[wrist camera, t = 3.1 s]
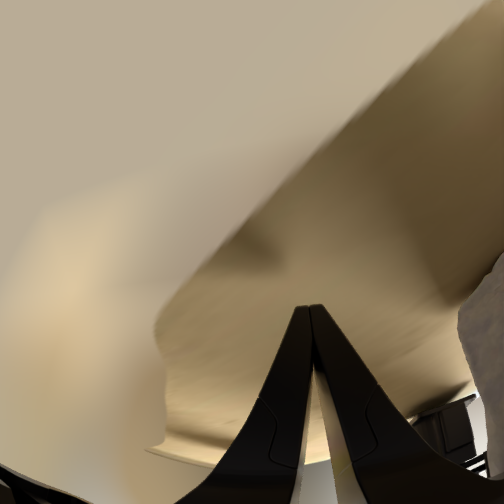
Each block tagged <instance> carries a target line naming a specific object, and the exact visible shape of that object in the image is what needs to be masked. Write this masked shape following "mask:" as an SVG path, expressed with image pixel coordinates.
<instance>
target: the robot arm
mask: <svg viewBox="0 0 504 504" xmlns="http://www.w3.org/2000/svg"><path fill="white" fill-rule="evenodd" d="M313 367H314V374H315V379H316V384H317V388H318V393H319V398H320V403H321V408H322V414H323V419H324V424H325V429H326V435H327V440H328V446H329V451H330V457H331V463H332V468H333V474H334V479H335V487H336V494H337V500H338V504H504V472H503V473H500V474H498V475H495V476H493V477H491V476H490V469H489V466H488V458H487V451H485V452H483V454H481V455H479V456H478V457H476V458H474V457H475V456H476V455H477V454H476V449H475V445H474V436H473V431H472V427H471V423H470V419H469V416H468V412H467V408H466V407H467V406H468V405H469V404H470V403H471V402H472V401H473V400H475V399H476V394H472V395H470V396H467V397H465V398H462V399H459V400H457V401H454V402H451V403H449V404H446V405H443V406H440V407H437V408H434V409H431V410H428V411H424V412H421V413H419V414H417V415H416V416H415V417H414V418H413V419H412V420H411V421H410V422H408V421H407V420H406V419H405V418H404V417H403V415H402V414H401V413H400V412H399V411H398V409H397V408H396V407H395V406H394V404H393V403H392V402H391V400H390V399H389V398H388V396H387V395H386V394H385V392H384V391H383V389H382V388H381V386H380V385H379V384H378V382H377V381H376V379H375V378H374V376H373V375H372V373H371V372H370V370H369V369H368V368H367V366H366V365H365V363H364V362H363V360H362V359H361V358H360V356H359V355H358V353H357V352H356V350H355V349H354V348H353V346H352V345H351V343H350V342H349V340H348V339H347V338H346V336H345V335H344V333H343V332H342V331H341V329H340V328H339V326H338V325H337V324H336V322H335V321H334V319H333V318H332V317H331V315H330V314H329V313H328V311H327V310H326V308H325V307H324V306H323V305H322V304H313V305H310V306H307V305H304V306H297V307H295V309H294V312H293V314H292V317H291V319H290V322H289V324H288V327H287V329H286V332H285V334H284V337H283V339H282V342H281V344H280V347H279V349H278V352H277V354H276V356H275V359H274V361H273V363H272V366H271V368H270V370H269V373H268V375H267V377H266V380H265V382H264V384H263V387H262V389H261V391H260V393H259V395H258V397H259V398H257V400H256V402H255V404H254V406H253V408H252V410H251V412H250V414H249V416H248V418H247V420H246V422H245V424H244V425H243V427H242V429H241V430H240V432H239V434H238V435H237V437H236V438H235V440H234V441H233V443H232V444H231V446H230V447H229V448H228V450H227V451H226V453H225V454H224V456H223V457H222V458H221V460H220V461H219V463H218V464H217V465H216V467H215V468H214V469H213V471H212V472H211V473H210V474H209V475H208V476H207V478H206V479H205V480H204V481H203V482H202V483H201V484H199V485H198V486H197V487H196V488H195V489H193V490H192V491H190V492H189V493H188V494H186V495H185V496H184V497H182V498H181V499H180V500H178V501H177V502H175V503H174V504H298V502H299V496H300V490H301V482H302V477H303V470H304V462H305V455H306V446H307V438H308V428H309V418H310V407H311V395H312V382H313ZM377 384H378V385H377ZM472 458H473V459H472ZM469 459H471V460H469ZM467 460H469V461H467ZM482 460H484V461H485V463H484V464H482V465H480V466H478V467H476V468H474V469H472V470H468V469H466V468H468V467H470V466H472V465H474V464H476V463H478V462H480V461H482ZM465 461H467V462H465ZM485 471H486V473H487V478H485V477H483V476H480V475H479V474H481V473H483V472H485ZM0 504H93V503H90V502H88V501H86V500H84V499H82V498H80V497H77V496H75V495H72V494H70V493H68V492H65V491H62V490H60V489H57V488H54V487H51V486H49V485H46V484H43V483H41V482H38V481H36V480H33V479H31V478H29V477H27V476H25V475H22V474H20V473H18V472H16V471H14V470H12V469H10V468H8V467H6V466H4V465H2V464H0Z"/></svg>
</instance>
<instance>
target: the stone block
mask: <svg viewBox="0 0 504 504" xmlns="http://www.w3.org/2000/svg"><path fill="white" fill-rule="evenodd" d="M457 330H458V335H459V339H460V342H461V343H462V348H463V351H464V354H465V356H466V360H467V362H468V364H469V368H470V370H471V373H472V376H473V378H474V382H475V386H476V387H477V390H478V392H479V394H480V396H481V398H482V401H483V404H484V407H485V418H486V428H487V436H488V443H487V458H488V466H489V469H490V476H491V477H493V476H495V475H498V474H500V473H503V472H504V252H503V253H502V254H501V256H500V257H499V258H498V260H497V262H496V263H495V265H494V267H493V269H492V272H491V273H489V274H488V275H485V277H484V278H483V280H482V282H481V283H480V285H479V286H478V287H477V289H476V290H475V291H474V292H473V293H472V294H471V295H470V297H469V298H468V299H467V300H466V301H465V302H464V303H463V304H462V306H461V307H460V309H459V312H458V325H457Z"/></svg>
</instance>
